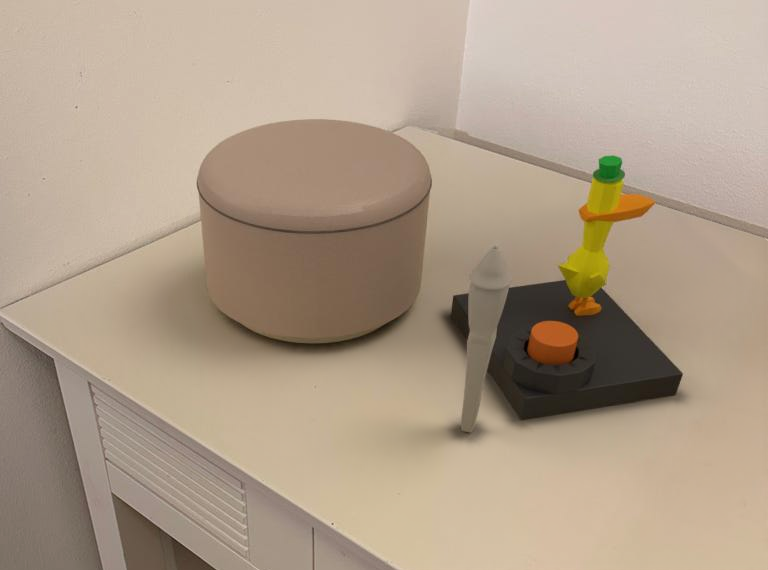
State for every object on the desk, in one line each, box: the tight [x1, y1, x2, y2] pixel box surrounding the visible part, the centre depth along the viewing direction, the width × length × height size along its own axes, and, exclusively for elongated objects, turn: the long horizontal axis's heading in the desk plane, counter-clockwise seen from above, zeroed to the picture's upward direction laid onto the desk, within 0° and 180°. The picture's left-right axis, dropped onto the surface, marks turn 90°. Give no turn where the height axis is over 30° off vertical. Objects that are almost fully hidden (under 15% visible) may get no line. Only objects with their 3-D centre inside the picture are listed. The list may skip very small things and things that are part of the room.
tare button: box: [527, 321, 578, 365], centre depth 62 cm, size 3×3×2 cm
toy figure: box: [557, 155, 656, 316], centre depth 65 cm, size 7×4×12 cm, turn 106°
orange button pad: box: [450, 279, 684, 420], centre depth 67 cm, size 12×14×4 cm
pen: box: [460, 244, 513, 433], centre depth 57 cm, size 2×3×14 cm
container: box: [196, 118, 433, 344], centre depth 71 cm, size 18×18×12 cm
